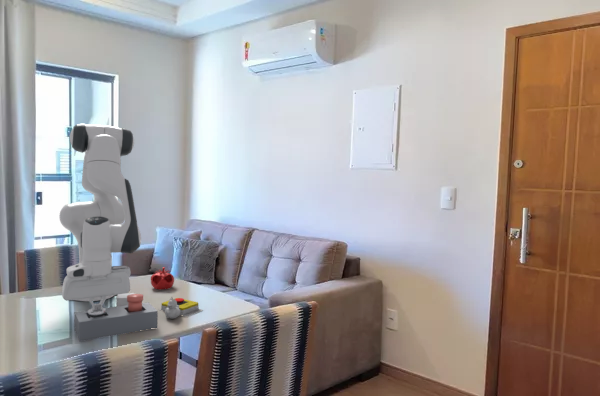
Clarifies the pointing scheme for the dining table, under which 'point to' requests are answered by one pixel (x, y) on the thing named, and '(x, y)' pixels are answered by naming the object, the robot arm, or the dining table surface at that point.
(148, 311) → the block
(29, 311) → the dining table surface
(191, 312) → the emergency button
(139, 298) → the red plunger
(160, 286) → the pomegranate
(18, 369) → the dining table surface
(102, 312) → the grey plunger
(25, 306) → the dining table surface
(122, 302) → the light grey cube
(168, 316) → the grey figurine
